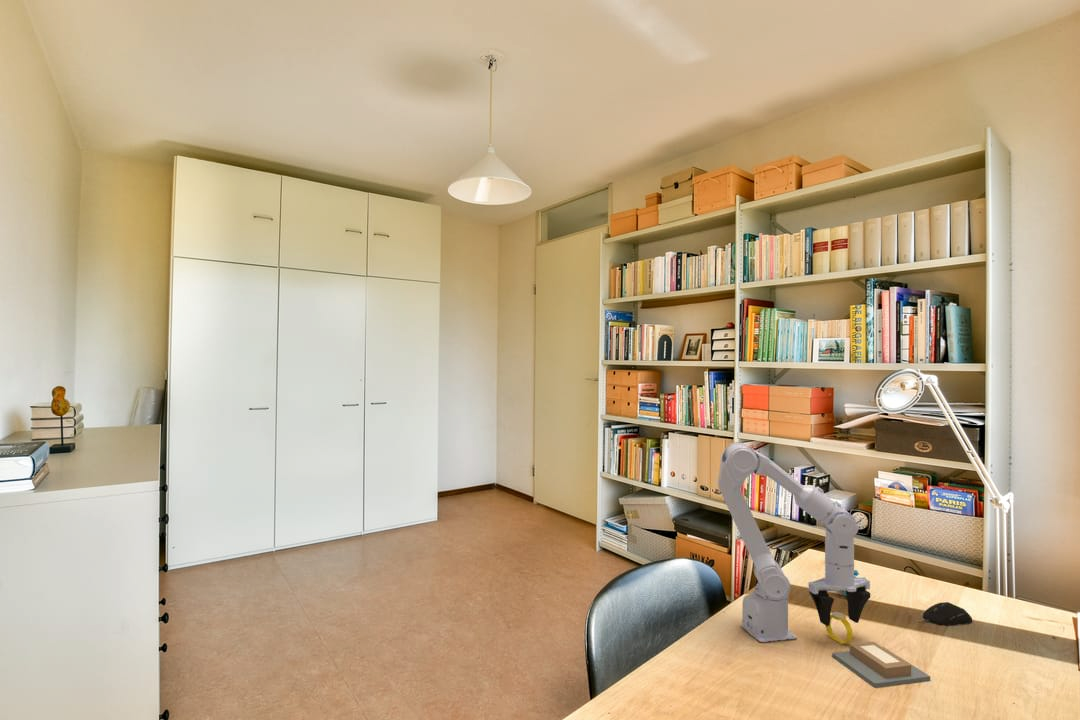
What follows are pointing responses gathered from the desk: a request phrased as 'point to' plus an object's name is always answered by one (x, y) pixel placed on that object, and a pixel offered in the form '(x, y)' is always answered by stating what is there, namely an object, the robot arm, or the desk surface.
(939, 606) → the gaming mouse
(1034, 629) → the desk surface
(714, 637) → the desk surface
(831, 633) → the watch
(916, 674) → the base board
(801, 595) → the desk surface
